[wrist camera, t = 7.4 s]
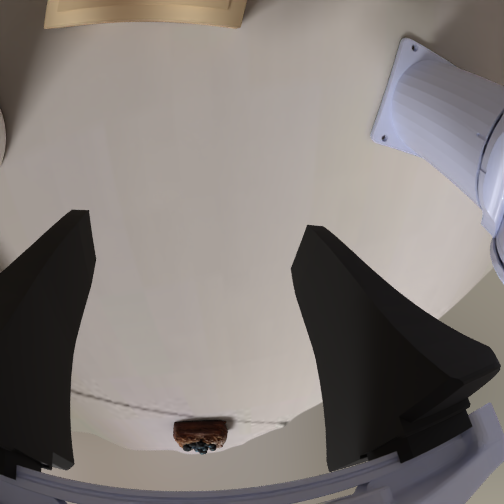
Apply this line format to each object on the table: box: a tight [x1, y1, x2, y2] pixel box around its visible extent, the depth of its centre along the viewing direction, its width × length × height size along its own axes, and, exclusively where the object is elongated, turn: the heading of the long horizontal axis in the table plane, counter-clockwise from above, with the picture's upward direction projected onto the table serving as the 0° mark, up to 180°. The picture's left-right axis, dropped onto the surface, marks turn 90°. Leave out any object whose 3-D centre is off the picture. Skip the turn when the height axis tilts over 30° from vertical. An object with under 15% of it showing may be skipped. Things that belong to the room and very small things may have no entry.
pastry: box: [173, 420, 228, 454], centre depth 51 cm, size 11×12×6 cm
